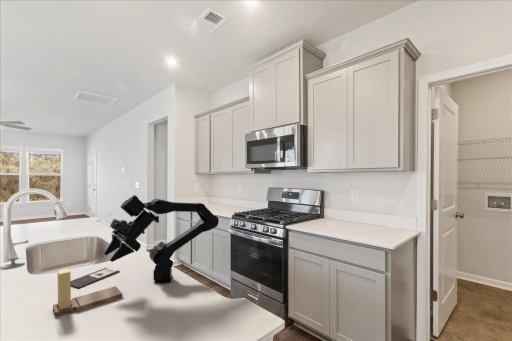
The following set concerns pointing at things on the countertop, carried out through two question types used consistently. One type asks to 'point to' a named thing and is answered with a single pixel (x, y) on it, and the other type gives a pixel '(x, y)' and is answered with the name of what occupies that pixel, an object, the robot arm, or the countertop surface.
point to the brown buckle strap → (89, 300)
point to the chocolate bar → (93, 277)
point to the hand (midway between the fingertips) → (107, 257)
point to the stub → (64, 289)
